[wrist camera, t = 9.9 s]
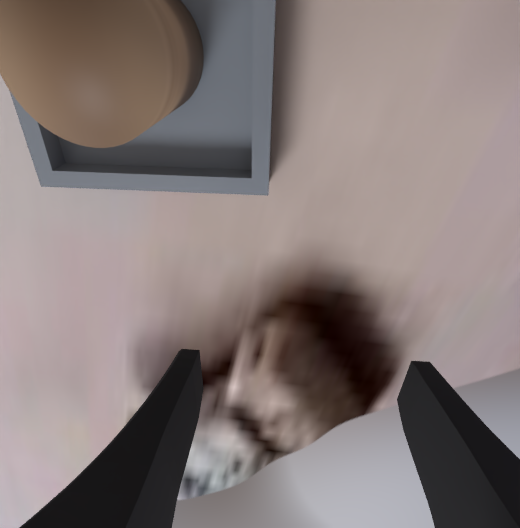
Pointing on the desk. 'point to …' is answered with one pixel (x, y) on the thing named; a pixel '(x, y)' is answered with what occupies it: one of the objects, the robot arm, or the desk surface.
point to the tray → (188, 119)
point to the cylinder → (99, 64)
